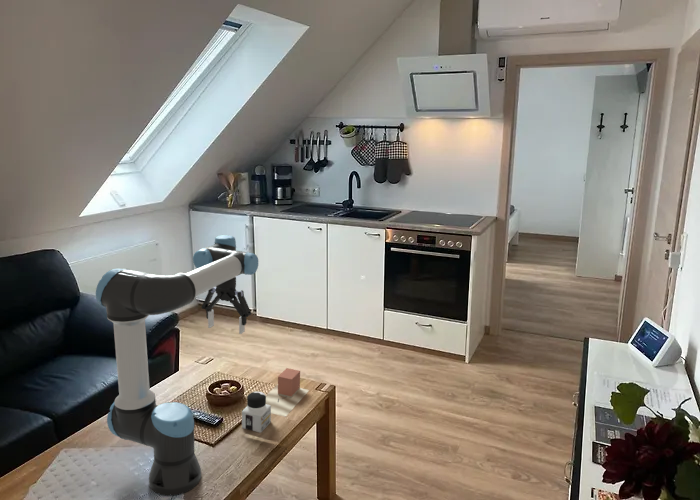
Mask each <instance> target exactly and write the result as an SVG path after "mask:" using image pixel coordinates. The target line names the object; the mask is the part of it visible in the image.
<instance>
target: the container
mask: <svg viewBox="0 0 700 500" xmlns="http://www.w3.org/2000/svg"><path fill="white" fill-rule="evenodd" d="M266 395H267V394H265V393H264V392H262V391H252V392H250V393H249V394H248V395H247V399H246V403H247V404H246V407H244V409H243V410H242V411H241V429H245V430H247V431H248V430H249V431H253V432H257V433H263V431H264V430H265V429H266V428H267V427H268V426H269V424H271V422H272V421H271V420H272V419H271V418H272V413H271V405H267V404H266Z"/></svg>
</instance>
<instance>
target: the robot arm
mask: <svg viewBox="0 0 700 500" xmlns="http://www.w3.org/2000/svg"><path fill="white" fill-rule="evenodd" d="M236 243H237V242H236V237H235V236H233V235H230V234H228V235H227V234H222V235H217V236H216V237H214V242H213V245H209V246H206V247H202V248H201V249H198V250H197V251H195V252H194V254H193V256H192V263H193V265H194V267H195V269H192V270H191V271H188V272H186V273H183V272H177V273H174V274H169V275H166V274H165V275H163V274H158V273H150V272H145V271H139V270H138V271H137V270H133V269H130V268H118V267H117V268H112V269H110V270H108V271H106V273H105V274H103V275H102V276H101V279H100V280H99V281H98V283H97V284H96V288H95V298H96V301H97V303H98V305H100V306H101V307H102V308H106V318H107V319H106V320H108V321H109V322H111V323H113V334H114V349H115V360H116V372H117V384H118V393H119V394H118V395H117V396H116V397H115V399H114V401H113V403H112V404H110V408H109V412H108V413H107V418H106V423H107V428H108V429H109V431H110V433H111V434H112V435H114V436H116V437H118V438H120V439H123V440H124V441H131V442H134V443H137V444H140V445H144V446H147V447H150V448H152V449H153V462H152V465H151V468H150V472H149V475H148V483H149V484H148V486H149V488H150V489H151V491H152V492H154V493H155V494H157V495H161V496H177V495H181V494H185V493H187V492H189V491H191V490H192V489H194V488H195V487H196V486H197V485H199V482H200V481H201V478H202V469H201V465H200V463H199V461H198V457H197V456H196V454H195V419H194V414H193V410H191V408H190V407H189V406H187V405H186V404H184V403H182V402H179V401H178V402H177V401H172V402H169V401H168V402H162V403H160V404H158V405H157V403H156V402H157V399H156V394H155V392H154V391H152V390H150V376H149V375H150V374H149V363H148V361H149V359H148V347H147V333H146V332H147V331H146V319H147V318H148V317H149V316H156V315H162V314H166V313H167V314H168V313H169V312H174V311H176V310H178V309H181V308H183V307H186V306H187V305H190V304H191V303H193V302H194V301H195V298H196V297H198V296H200V295H201V294H204V293H205V292H207V294H206V296H205V298H204V301H203V303H202V306H201V309H202V310H205V311H206V312H205V314H206V319H207V328H208V329H210V328H212V327H214V326H215V321H214V320H215V313H214V309H213V308H214V307H215V305H217V303H218V302H219V301H222V302H223V301H225V302H229V303H230V304H232V306H233V308H234V309H235V310H236V311H237V313H238V314H239V315H240V316H239V317H238V318H239V319H238V321H239V322H238V323H239V324H238V325H239V327H238V334H239V335H242V334H243V333H245V332H246V331H245V330H246V329H245V328H246V327H245V326H246V325H247V317H249V316H251V315H252V311H251V309H250V307H249V305H248V302H247V300H246V298H245V295H244V293H245V292H244V290H243V289H242V290H237V289H236V288H237V276H240V275H254V274H255V273H257V272H258V271H257V270H258V269H259V258H258V254H257V255H256V254H255V253H253V252H248V251H243V250H237V244H236ZM215 293H216V296H215V297H214V298H213V296H214V295H215ZM212 298H213V300H212ZM211 300H212V301H211Z"/></svg>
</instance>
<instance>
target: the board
mask: <svg viewBox="0 0 700 500" xmlns="http://www.w3.org/2000/svg"><path fill="white" fill-rule="evenodd" d="M309 391H310V389H307V388H302V387H300V389H299V390H298V391H297V392H296V393H295V395H294V396H293V397H292V398H290V397H286V396H281V395H278V383H277V384H276V385H275V386H274V387H273V388H272V389H271V390H270V391H269V392H268V393H267V394H265V395H266V404H267V405H271V415H277V416H280V417H285V418H286V417H287V416H288V415H289V414H290V412H292V410H293V409H294V408H295V407H296V406H297V405H298V404H299V402H300V401H301V400H302V399H304V398H305V396H306V394H308V392H309Z"/></svg>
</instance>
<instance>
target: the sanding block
mask: <svg viewBox="0 0 700 500" xmlns="http://www.w3.org/2000/svg"><path fill="white" fill-rule="evenodd" d="M277 384H278V395H281V396H286V397H290V398H292V397H293V396H294V395H295V393H296V392H297V391H298V390H299V389H300V388H301V370H298V369H294V368H293V369H292V368H287V367H286V368H285V369H284V370H283V371H282V372H281V373H280V374H279V375H278V376H277Z"/></svg>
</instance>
